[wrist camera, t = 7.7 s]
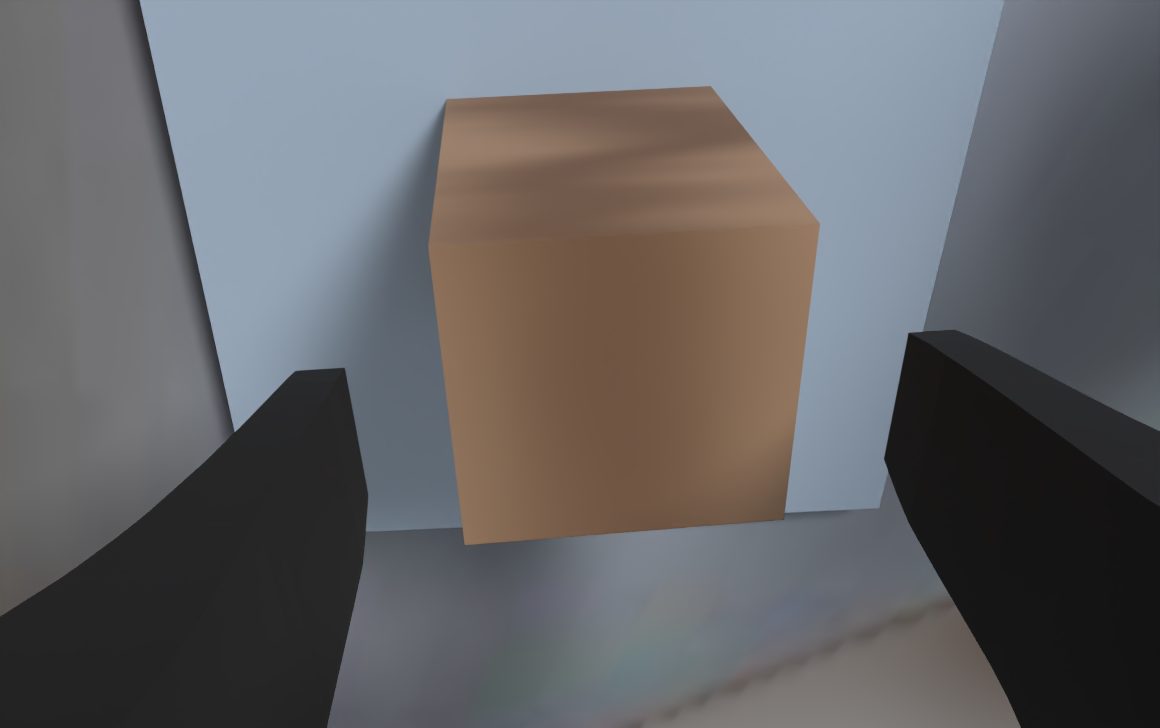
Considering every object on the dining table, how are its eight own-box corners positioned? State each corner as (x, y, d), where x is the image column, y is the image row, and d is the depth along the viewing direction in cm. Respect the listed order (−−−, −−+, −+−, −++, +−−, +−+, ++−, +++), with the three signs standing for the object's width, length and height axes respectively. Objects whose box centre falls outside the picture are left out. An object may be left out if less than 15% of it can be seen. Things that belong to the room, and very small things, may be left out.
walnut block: (710, 85, 16) (820, 222, 11) (699, 316, 18) (784, 519, 13) (446, 99, 15) (428, 246, 10) (470, 331, 18) (464, 544, 13)
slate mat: (1028, -205, 14) (1055, -205, 14) (866, 486, 22) (879, 508, 21) (109, -227, 13) (89, -228, 13) (265, 512, 21) (258, 536, 20)
